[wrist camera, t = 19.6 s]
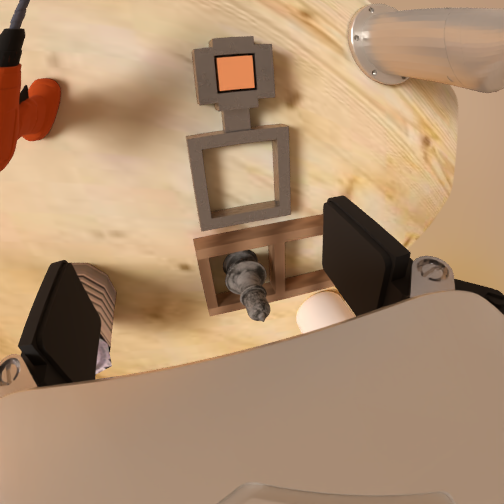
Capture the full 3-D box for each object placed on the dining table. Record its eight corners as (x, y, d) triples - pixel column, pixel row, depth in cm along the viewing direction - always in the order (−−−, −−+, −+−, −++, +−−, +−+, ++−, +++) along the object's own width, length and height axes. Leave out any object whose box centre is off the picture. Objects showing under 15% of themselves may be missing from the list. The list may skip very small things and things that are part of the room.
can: (121, 319, 45) (118, 379, 35) (58, 318, 42) (44, 376, 32) (112, 260, 39) (102, 321, 30) (42, 261, 36) (16, 318, 26)
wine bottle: (291, 299, 52) (374, 453, 28) (340, 281, 53) (436, 417, 29) (296, 332, 58) (364, 467, 33) (340, 315, 59) (417, 438, 34)
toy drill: (99, -8, 19) (46, -34, 8) (53, 139, 29) (-4, 199, 18) (63, -11, 17) (-3, -30, 6) (22, 133, 27) (-42, 190, 16)
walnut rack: (341, 210, 45) (351, 219, 42) (335, 273, 51) (343, 283, 49) (193, 239, 41) (195, 250, 38) (207, 303, 48) (209, 316, 45)
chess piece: (214, 274, 45) (230, 333, 35) (232, 242, 43) (255, 298, 33) (247, 284, 48) (270, 340, 38) (266, 254, 45) (295, 308, 36)
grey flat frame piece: (277, 38, 29) (286, 36, 27) (285, 208, 42) (293, 217, 40) (175, 46, 27) (175, 43, 25) (199, 224, 40) (202, 235, 38)
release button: (246, 57, 29) (252, 55, 27) (248, 87, 31) (254, 87, 29) (213, 59, 29) (216, 58, 27) (216, 90, 31) (219, 91, 29)
